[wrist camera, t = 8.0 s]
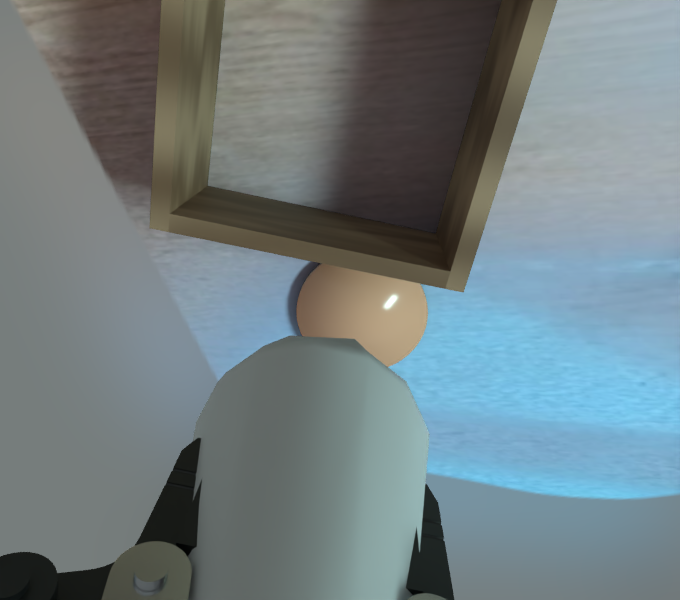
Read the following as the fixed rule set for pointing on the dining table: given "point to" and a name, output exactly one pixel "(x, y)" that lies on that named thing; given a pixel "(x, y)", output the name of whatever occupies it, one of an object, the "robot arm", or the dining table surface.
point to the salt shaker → (308, 477)
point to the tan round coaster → (363, 310)
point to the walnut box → (319, 225)
